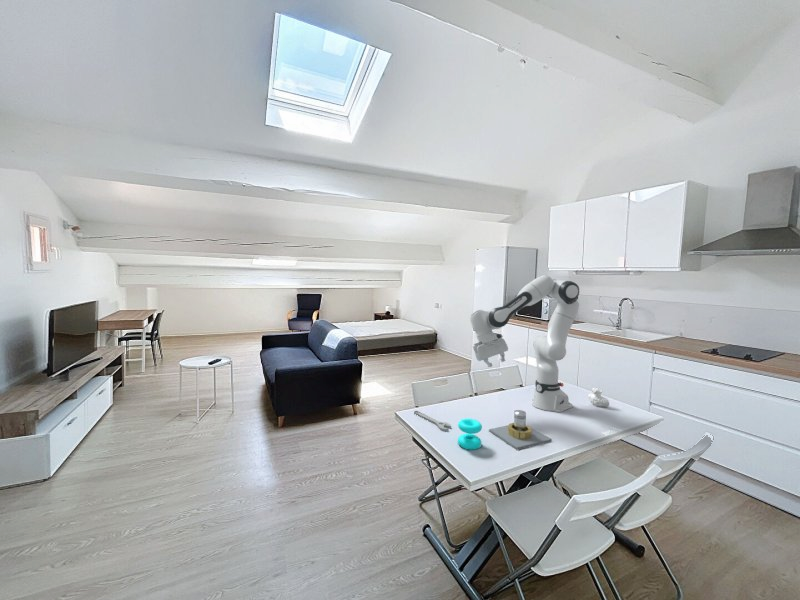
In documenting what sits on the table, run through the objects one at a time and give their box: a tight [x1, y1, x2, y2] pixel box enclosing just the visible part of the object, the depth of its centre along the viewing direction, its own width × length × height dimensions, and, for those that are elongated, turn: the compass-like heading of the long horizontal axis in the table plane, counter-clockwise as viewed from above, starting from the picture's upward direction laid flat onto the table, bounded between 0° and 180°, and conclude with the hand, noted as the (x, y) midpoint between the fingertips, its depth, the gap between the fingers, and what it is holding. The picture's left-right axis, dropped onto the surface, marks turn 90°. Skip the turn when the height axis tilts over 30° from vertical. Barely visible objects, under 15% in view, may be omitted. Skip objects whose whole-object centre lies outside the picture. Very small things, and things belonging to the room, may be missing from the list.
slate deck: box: [488, 424, 553, 451], centre depth 151 cm, size 20×18×1 cm
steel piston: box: [513, 409, 527, 431], centre depth 151 cm, size 5×5×10 cm
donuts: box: [457, 418, 483, 451], centre depth 143 cm, size 10×10×10 cm
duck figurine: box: [588, 387, 610, 408], centre depth 189 cm, size 12×8×11 cm
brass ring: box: [508, 422, 532, 439], centre depth 151 cm, size 10×10×3 cm
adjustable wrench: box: [413, 410, 452, 432], centre depth 166 cm, size 25×6×2 cm, turn 33°
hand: (497, 364), depth 175 cm, fingers open, 8 cm apart
